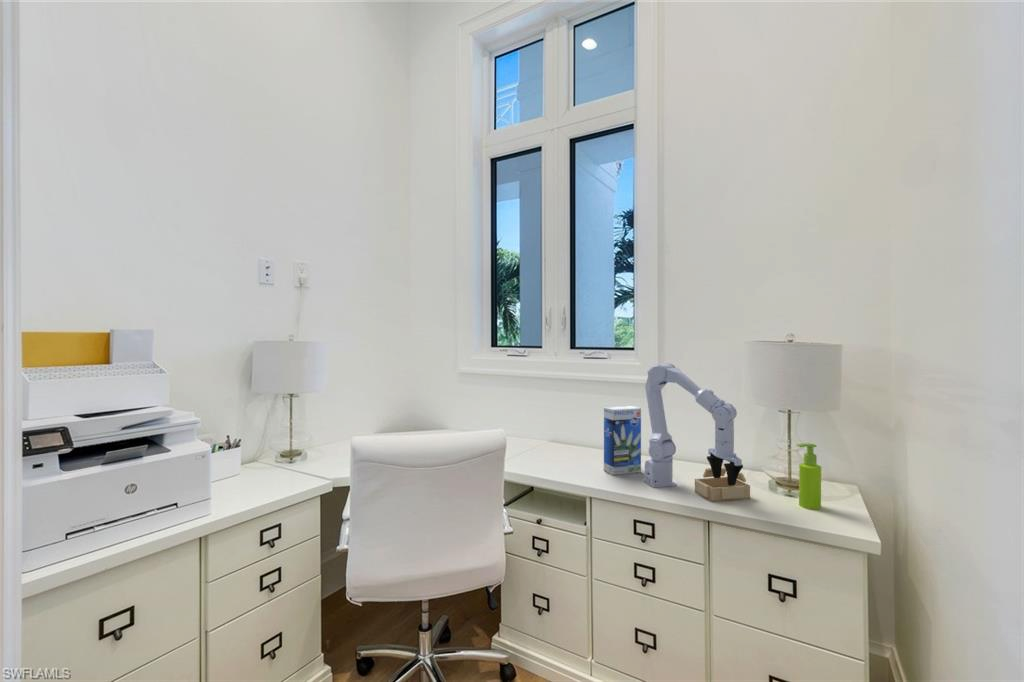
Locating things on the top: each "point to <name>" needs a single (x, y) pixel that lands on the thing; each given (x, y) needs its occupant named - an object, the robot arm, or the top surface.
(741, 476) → the flap short
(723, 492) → the carton
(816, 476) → the soap dispenser
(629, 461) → the string lights box
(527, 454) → the top surface
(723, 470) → the flap long
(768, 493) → the top surface
